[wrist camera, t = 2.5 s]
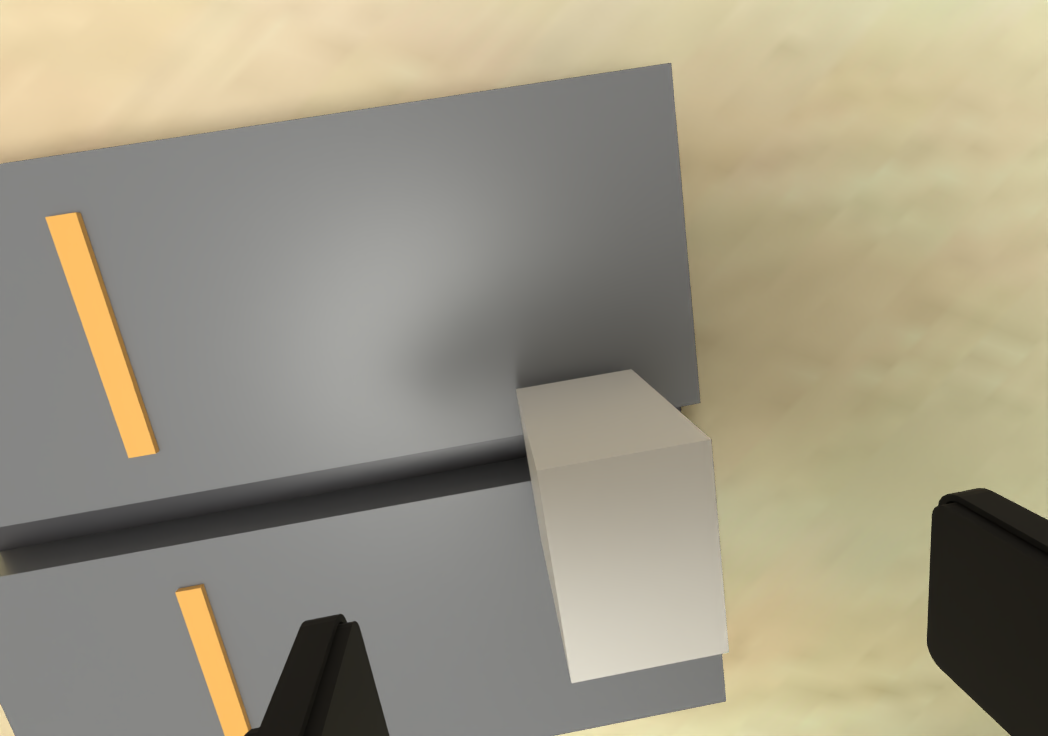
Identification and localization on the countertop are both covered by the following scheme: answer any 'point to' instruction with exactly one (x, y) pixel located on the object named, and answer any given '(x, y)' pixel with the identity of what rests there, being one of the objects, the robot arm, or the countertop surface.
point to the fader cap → (625, 524)
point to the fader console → (324, 405)
